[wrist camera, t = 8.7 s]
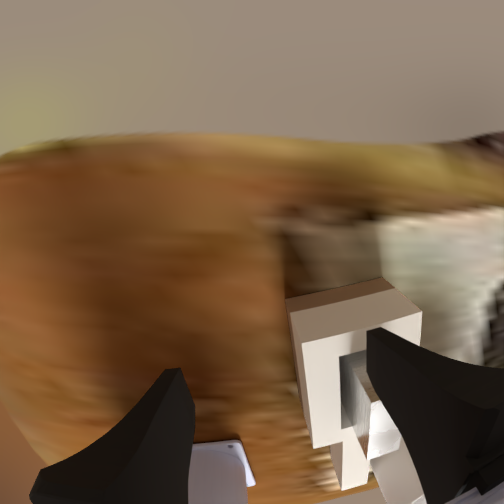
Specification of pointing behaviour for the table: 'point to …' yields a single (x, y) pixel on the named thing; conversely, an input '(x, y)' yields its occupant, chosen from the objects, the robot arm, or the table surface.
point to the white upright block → (366, 408)
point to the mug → (398, 477)
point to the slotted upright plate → (327, 359)
